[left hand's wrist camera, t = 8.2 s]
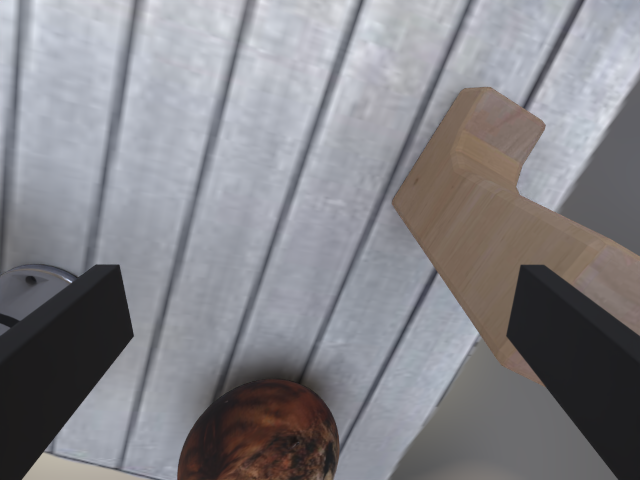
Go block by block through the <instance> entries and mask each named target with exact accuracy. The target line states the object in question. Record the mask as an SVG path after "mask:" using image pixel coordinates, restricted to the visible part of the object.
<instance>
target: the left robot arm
mask: <svg viewBox="0 0 640 480" xmlns="http://www.w3.org/2000/svg"><path fill="white" fill-rule="evenodd" d="M133 337H134V334H133V329H132V324H131V319H130V314H129V309H128V304H127V299H126V295H125V290H124V285H123V280H122V275H121V270H120V265H95V266H93V267H92V268H91V269H89V270H88V271H87V272H85V273H84V274H83V275H81V276H80V277H79V278H77V277H75V276H73V275H72V274H70V273H68V272H66V271H63V270H61V269H58V268H55V267H51V266H46V265H37V264H32V265H23V266H19V267H16V268H13V269H11V270H9V271H7V272H6V273H4V274H2V275H0V480H22V479H23V477H24V476H25V475H26V473H27V472H28V471H29V470H30V468H31V467H32V466H33V465H34V463H35V462H36V461H37V459H38V458H39V457H40V456H41V454H42V453H43V452H44V450H45V449H46V448H47V447H48V445H49V444H50V443H51V442H52V440H53V439H54V438H55V436H56V435H57V434H58V433H59V431H60V430H61V429H62V427H63V426H64V425H65V424H66V422H67V421H68V420H69V418H70V417H71V416H72V415H73V413H74V412H75V411H76V410H77V408H78V407H79V406H80V404H81V403H82V402H83V401H84V399H85V398H86V397H87V395H88V394H89V393H90V392H91V390H92V389H93V388H94V386H95V385H96V384H97V383H98V381H99V380H100V379H101V378H102V376H103V375H104V374H105V372H106V371H107V370H108V369H109V367H110V366H111V365H112V363H113V362H114V361H115V360H116V358H117V357H118V356H119V354H120V353H121V352H122V351H123V349H124V348H125V347H126V346H127V344H128V343H129V342H130V340H131V339H132V338H133ZM506 337H507V338H508V339H509V340H510V342H511V343H512V344H513V346H514V347H515V348H516V349H517V351H518V352H519V353H520V354H521V356H522V357H523V358H524V360H525V361H526V362H527V363H528V365H529V366H530V367H531V369H532V370H533V371H534V372H535V374H536V375H537V376H538V378H539V379H540V380H541V381H542V383H543V384H544V385H545V386H546V388H547V389H548V390H549V392H550V393H551V394H552V395H553V397H554V398H555V399H556V401H557V402H558V403H559V404H560V406H561V407H562V408H563V409H564V411H565V412H566V413H567V415H568V416H569V417H570V418H571V420H572V421H573V422H574V424H575V425H576V426H577V427H578V429H579V430H580V431H581V433H582V434H583V435H584V436H585V438H586V439H587V440H588V442H589V443H590V444H591V445H592V447H593V448H594V449H595V450H596V452H597V453H598V454H599V456H600V457H601V458H602V459H603V461H604V462H605V463H606V465H607V466H608V467H609V468H610V470H611V471H612V472H613V473H614V475H615V476H616V477H617V478H618V480H640V336H639V335H638V334H637V333H635V332H634V331H633V330H631V329H630V328H629V327H627V326H626V325H625V324H623V323H622V322H620V321H619V320H618V319H616V318H615V317H614V316H612V315H611V314H610V313H608V312H607V311H606V310H604V309H603V308H602V307H600V306H599V305H598V304H596V303H595V302H594V301H592V300H591V299H590V298H588V297H587V296H586V295H584V294H583V293H581V292H580V291H579V290H577V289H576V288H575V287H573V286H572V285H571V284H569V283H568V282H567V281H565V280H564V279H563V278H561V277H560V276H559V275H557V274H556V273H555V272H553V271H552V270H551V269H549V268H548V267H547V266H545V265H520V270H519V275H518V280H517V285H516V290H515V295H514V299H513V304H512V309H511V314H510V319H509V324H508V329H507V334H506Z"/></svg>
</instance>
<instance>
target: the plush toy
mask: <svg viewBox="0 0 640 480" xmlns="http://www.w3.org/2000/svg"><path fill="white" fill-rule="evenodd" d="M338 459H339V435H338V430H337V426H336V423H335V420H334V418H333V415H332V413H331V412H330V410H329V408H328V407H327V405H326V404H325V403H324V401H323V400H322V399H321V398H320V397H319V396H318V395H317V394H316V393H314V392H313V391H312V390H310V389H309V388H307V387H305V386H303V385H301V384H298V383H295V382H292V381H288V380H281V379H265V380H258V381H254V382H250V383H247V384H244V385H242V386H239V387H237V388H235V389H233V390H231V391H229V392H228V393H226V394H225V395H223V396H222V397H220V398H219V399H218V400H216V401H215V402H214V403H213V404H212V405H211V406H210V407H208V408H207V409H206V411H205V412H204V413H203V414H202V415H201V416H200V417H199V419H198V420H197V421H196V423H195V424H194V426H193V428H192V429H191V431H190V433H189V434H188V436H187V438H186V441H185V443H184V446H183V449H182V452H181V455H180V459H179V464H178V473H177V480H333V479H334V476H335V473H336V469H337V465H338Z"/></svg>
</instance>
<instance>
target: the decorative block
mask: <svg viewBox="0 0 640 480" xmlns="http://www.w3.org/2000/svg"><path fill="white" fill-rule="evenodd" d="M545 126H546V125H545V124H544V122H543V121H542V120H541V119H539V118H538V117H536V116H534V115H533V114H531V113H530V112H528V111H527V110H525V109H524V108H522V107H520V106H519V105H517V104H516V103H514V102H513V101H511V100H510V99H508V98H506V97H505V96H503V95H502V94H500V93H499V92H497V91H496V90H494V89H493V88H491V87H479V88H465V89H463V90H462V91H461V92H460V93H459V95H458V97H457V98H456V100H455V101H454V103H453V104H452V106H451V108H450V109H449V111H448V112H447V114H446V116H445V117H444V119H443V120H442V122H441V124H440V125H439V127H438V128H437V130H436V132H435V133H434V135H433V136H432V138H431V139H430V141H429V143H428V144H427V146H426V147H425V149H424V151H423V152H422V154H421V155H420V157H419V159H418V160H417V162H416V163H415V165H414V167H413V168H412V170H411V171H410V173H409V175H408V176H407V178H406V179H405V181H404V183H403V184H402V186H401V187H400V189H399V191H398V192H397V194H396V195H395V197H394V199H393V201H392V205H393V206H394V208H395V209H396V211H397V212H398V214H399V215H400V217H401V218H402V220H403V221H404V223H405V224H406V226H407V227H408V229H409V230H410V232H411V233H412V235H413V236H414V238H415V239H416V240H417V242H418V243H419V245H420V246H421V248H422V249H423V251H424V252H425V254H426V255H427V257H428V258H429V260H430V261H431V263H432V264H433V266H434V267H435V268H436V270H437V271H438V273H439V274H440V276H441V277H442V279H443V280H444V282H445V283H446V285H447V286H448V288H449V289H450V291H451V292H452V294H453V295H454V297H455V298H456V300H457V301H458V302H459V304H460V305H461V307H462V308H463V310H464V311H465V313H466V314H467V316H468V317H469V319H470V320H471V322H472V323H473V325H474V326H475V328H476V329H477V331H478V332H479V333H480V335H481V336H482V338H483V339H484V341H485V342H486V344H487V345H488V347H489V348H490V350H491V351H492V353H493V354H494V356H495V357H496V359H497V360H498V361H499V362H500V364H501V365H502V366H504V367H506V368H508V369H510V370H512V371H514V372H516V373H518V374H520V375H522V376H524V377H526V378H528V379H530V380H532V381H534V382H536V383H538V384H540V385H542V386H544V387H546V386H545V385H544V384H543V383H542V381H541V380H540V379H539V378H538V376H537V375H536V374H535V372H534V371H533V370H532V369H531V367H530V366H529V365H528V363H527V362H526V361H525V360H524V358H523V357H522V356H521V354H520V353H519V352H518V351H517V349H516V348H515V347H514V346H513V344H512V343H511V342H510V340H509V339H508V338H507V337H506V334H507V329H508V324H509V319H510V314H511V309H512V304H513V299H514V295H515V290H516V285H517V280H518V275H519V270H520V265H545V266H547V267H548V268H549V269H551V270H552V271H553V272H555V273H556V274H557V275H559V276H560V277H561V278H563V279H564V280H565V281H567V282H568V283H569V284H571V285H572V286H573V287H575V288H576V289H577V290H579V291H580V292H581V293H583V294H584V295H586V296H587V297H588V298H590V299H591V300H592V301H594V302H595V303H596V304H598V305H599V306H600V307H602V308H603V309H604V310H606V311H607V312H608V313H610V314H611V315H612V316H614V317H615V318H616V319H618V320H619V321H620V322H622V323H623V324H625V325H626V326H627V327H629V328H630V329H631V330H633V331H634V332H635V333H637V334H638V335H639V336H640V257H639V256H638V255H636V254H635V253H633V252H631V251H630V250H628V249H626V248H624V247H623V246H621V245H619V244H618V243H616V242H614V241H613V240H611V239H609V238H607V237H605V236H603V235H601V234H599V233H597V232H595V231H593V230H590V229H588V228H586V227H584V226H582V225H580V224H578V223H576V222H574V221H572V220H570V219H568V218H566V217H564V216H562V215H560V214H558V213H556V212H553V211H551V210H549V209H547V208H545V207H543V206H541V205H539V204H537V203H535V202H533V201H531V200H529V199H527V198H525V197H523V196H521V195H520V194H519V192H518V190H517V188H516V185H517V182H518V178H519V175H520V172H521V169H522V166H523V164H524V162H525V161H526V159H527V157H528V156H529V154H530V153H531V151H532V149H533V148H534V146H535V144H536V143H537V141H538V140H539V138H540V136H541V135H542V133H543V131H544V130H545Z"/></svg>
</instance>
